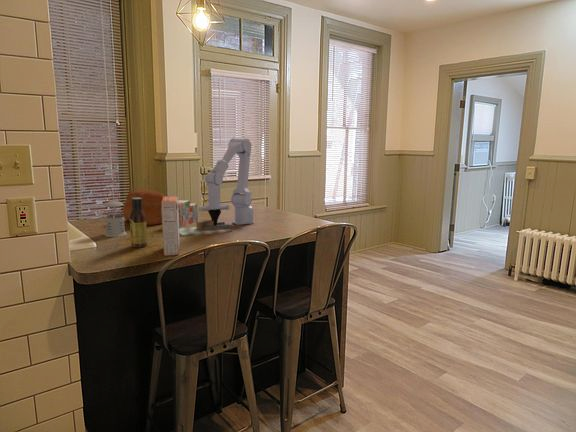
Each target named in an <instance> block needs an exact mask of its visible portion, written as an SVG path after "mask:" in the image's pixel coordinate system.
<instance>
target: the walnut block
mask: <svg viewBox="0 0 576 432" xmlns="http://www.w3.org/2000/svg"><path fill="white" fill-rule="evenodd" d="M195 223H196V227H197V229H198V230H199V231H201V230H203V226H214V221H212V219H211V218H209V219H200V220H199V219H198V220H197V221H195Z"/></svg>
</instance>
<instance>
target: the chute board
mask: <svg viewBox="0 0 576 432" xmlns="http://www.w3.org/2000/svg"><path fill="white" fill-rule="evenodd" d="M231 232H233V230H232V229H230V228H229V229H221V230H210V231H203V230H201V231H199V230H198V229H197V226H191V227H182V228H179V236H180V237H188V236H189V237H190V236H200V235H211V234H212V235H213V234H221V233H231Z"/></svg>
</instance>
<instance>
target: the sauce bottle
mask: <svg viewBox="0 0 576 432" xmlns="http://www.w3.org/2000/svg"><path fill="white" fill-rule="evenodd" d="M129 229H130V231H129V232H130V243H131V247H132V248H144V247H146V246H147V245H148V231H147V225H146V215H145V212H144V211H143V210H142V198H139V197H137V198H132V212H131V215H130V221H129Z"/></svg>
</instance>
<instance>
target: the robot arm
mask: <svg viewBox="0 0 576 432" xmlns="http://www.w3.org/2000/svg"><path fill="white" fill-rule="evenodd" d="M252 144H253V143H252V142H251V141H250V139H249V138H235V137H232V138H231V139H230V140H229V142H228V148H227V149H226V152H225V153H224V155H223V157H222V159H219V160H218V161H216V164H215V165H214V167H213V168H212V170H211V171H209V172H208V173H206V175H205V178H204V181H205V183H206V187H207V193H208V194H207V196H208V197H207V199H208V202H207V205H204V206H199V207H198V209H199V210H198V211H199V212H208V215H209V216H210V219H211V220H212V221H214V225H217V222H219V221H218V220H219V217H220V215H221V213H222V211H224V210H228V211H229V210H230V205H227V204H226V205H225V204H224V205H221V184H222V183H223V181H224V175H225V174H226V172H227V170H228V169H229V163H230V161H232V160H233V157H234V156H238V157H239V163H238V171H237V172H238V174H237V184H236V188H235V189H233V191H232V195H231V199H230V201H231V204H232V205H233V207H234V220H233V221H231V223H233V224H235V225H237V226H238V225H250V224H251V225H252V224H255V222H254V208H253V207H252V206H251V204H252V202H253V201H252V199H253V198H252V192H251V191H250V190H249V188H248V183H249V175H250V162H251V153H252Z"/></svg>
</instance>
